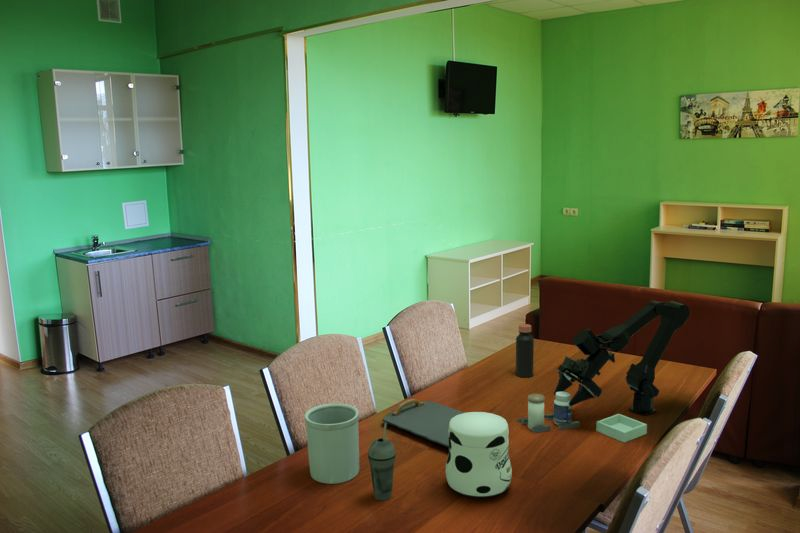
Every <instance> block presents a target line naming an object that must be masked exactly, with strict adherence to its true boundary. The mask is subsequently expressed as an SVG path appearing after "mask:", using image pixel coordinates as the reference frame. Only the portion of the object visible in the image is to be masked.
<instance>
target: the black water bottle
mask: <svg viewBox="0 0 800 533" xmlns="http://www.w3.org/2000/svg"><path fill="white" fill-rule="evenodd" d="M518 333H519V334H518V335H517V336H516V338H515V375H516V377H520V378H532V377H533V376H534V354H535V352H534V349H535V348H534V347H535V346H534V344H535V343H534V341H535V340H534V336H533V335H531V333H532V325H531V324H529V323H528V324H527V323H521V324H519V325H518Z"/></svg>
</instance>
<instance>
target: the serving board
mask: <svg viewBox="0 0 800 533" xmlns="http://www.w3.org/2000/svg"><path fill="white" fill-rule="evenodd" d="M463 413H465V412H464V411H461V410H458V409H456V408H452V407H449V406H447V405H444V404H441V403H438V402H435V401H432V400H431V401H430V400H425V401H424V400H423V401H420V400H418V399H416V398H411V399H407V400H404V401H402V402H401V403H399V404H398V405H397V406H396V408H395V409H394V410H392V411H390V412H388V413H387V414H386V415H385V416H384V417H383V418H382V420H381V421H382V422H384V424H385V423H387V424H386V427H389V426H390V427H391V426H393V427H396V428H398V429H400V430H403V431H407V432H409V433H410V434H413V435H416V436H418V437H421V438H423V439H425V440H428V441H430V442H432V443H436V444H438V445H440V446H443V447H446V448H448V449H449V423H450V421H451V419H452V418H453V417H455V416H456V415H459V414H463Z"/></svg>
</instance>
